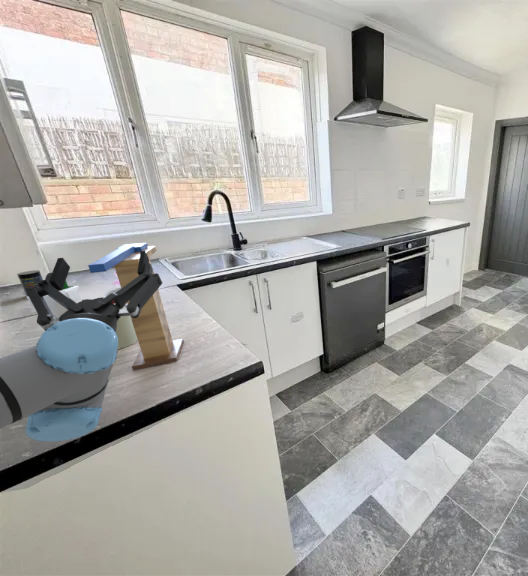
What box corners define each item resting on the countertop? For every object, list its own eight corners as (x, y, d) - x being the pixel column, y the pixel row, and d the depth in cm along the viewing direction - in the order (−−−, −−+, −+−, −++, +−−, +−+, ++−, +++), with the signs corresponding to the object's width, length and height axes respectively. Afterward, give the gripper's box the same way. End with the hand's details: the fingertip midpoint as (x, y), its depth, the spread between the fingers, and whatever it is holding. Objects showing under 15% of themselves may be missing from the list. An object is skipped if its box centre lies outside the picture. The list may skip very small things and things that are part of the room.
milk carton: (101, 338, 98) (79, 278, 92) (81, 352, 90) (56, 288, 83) (69, 341, 97) (45, 280, 90) (45, 356, 88) (17, 290, 82)
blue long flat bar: (114, 270, 62) (111, 262, 61) (82, 273, 60) (79, 265, 59) (148, 246, 84) (146, 241, 84) (125, 248, 82) (123, 242, 82)
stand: (174, 369, 81) (142, 258, 71) (127, 378, 78) (88, 263, 68) (184, 340, 96) (159, 245, 86) (145, 347, 92) (115, 248, 82)
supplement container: (49, 294, 139) (40, 271, 135) (27, 298, 134) (17, 275, 130) (47, 291, 143) (38, 269, 139) (25, 295, 138) (16, 273, 134)
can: (128, 333, 101) (117, 299, 97) (144, 339, 97) (133, 304, 93) (93, 346, 93) (80, 310, 89) (109, 353, 89) (96, 316, 85)
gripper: (-1, 371, 51) (38, 279, 63) (176, 339, 60) (180, 264, 72) (-37, 347, 45) (13, 251, 58) (164, 316, 54) (170, 240, 67)
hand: (106, 258), depth 65 cm, fingers open, 13 cm apart
